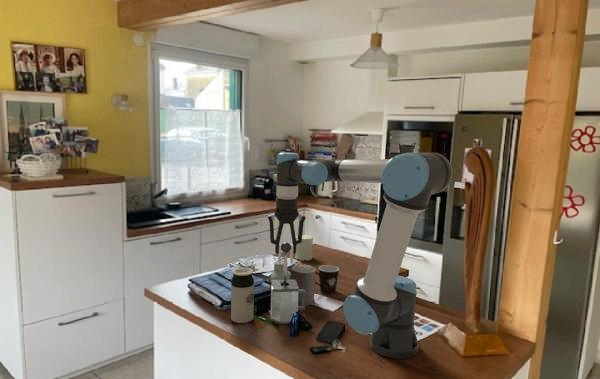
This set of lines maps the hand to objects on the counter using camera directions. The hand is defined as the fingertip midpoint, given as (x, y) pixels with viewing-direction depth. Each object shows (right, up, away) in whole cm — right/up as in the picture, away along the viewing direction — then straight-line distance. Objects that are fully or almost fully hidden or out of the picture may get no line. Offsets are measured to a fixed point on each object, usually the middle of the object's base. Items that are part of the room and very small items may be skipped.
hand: (285, 262), depth 152 cm
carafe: (+1, -21, +3) cm, 21 cm away
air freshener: (-3, -16, +37) cm, 40 cm away
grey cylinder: (+6, -19, +19) cm, 28 cm away
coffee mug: (+16, -18, +31) cm, 39 cm away
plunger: (0, -11, +2) cm, 11 cm away
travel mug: (-16, -21, +2) cm, 26 cm away
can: (+7, -11, +75) cm, 76 cm away
